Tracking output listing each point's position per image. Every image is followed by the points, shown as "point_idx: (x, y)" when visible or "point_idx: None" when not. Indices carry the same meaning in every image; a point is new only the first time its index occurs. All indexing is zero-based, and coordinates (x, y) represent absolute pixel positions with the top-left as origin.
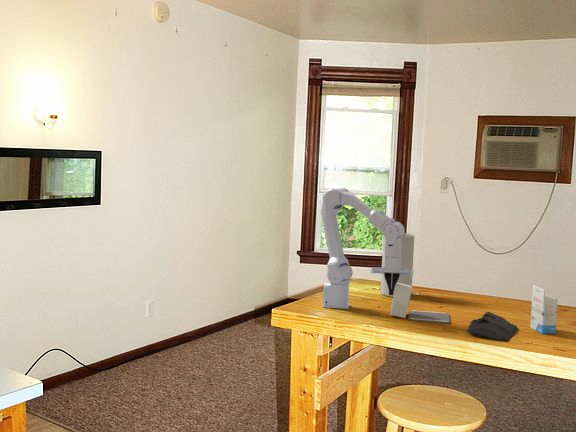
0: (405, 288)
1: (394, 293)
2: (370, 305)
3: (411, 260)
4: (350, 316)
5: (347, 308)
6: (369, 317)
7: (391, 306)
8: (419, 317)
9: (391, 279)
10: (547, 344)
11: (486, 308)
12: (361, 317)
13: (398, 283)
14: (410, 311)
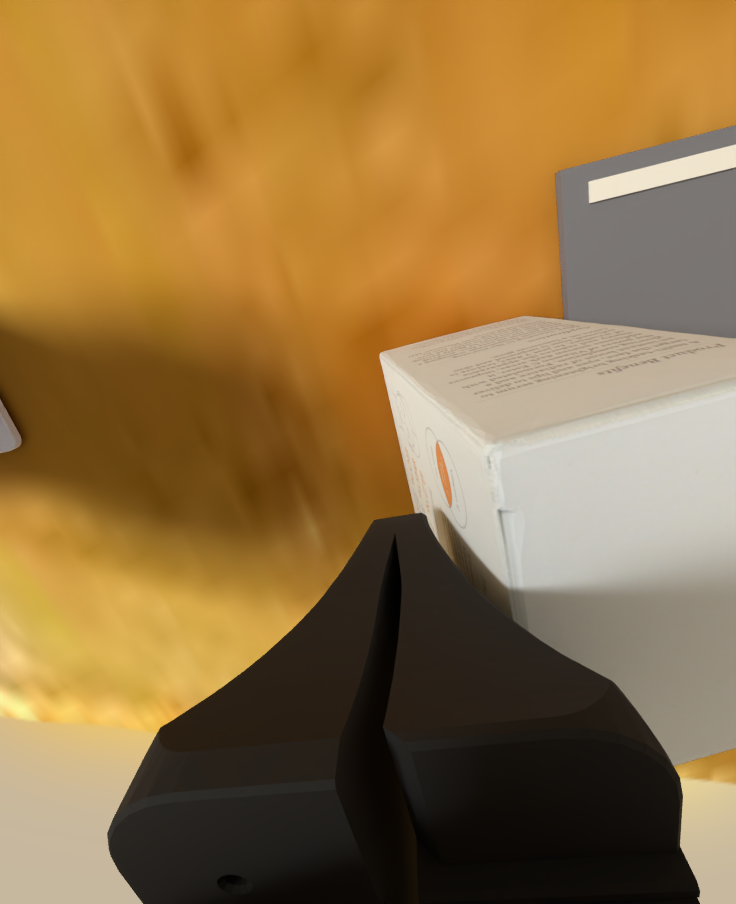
0: (690, 760)
1: (430, 451)
2: (76, 113)
3: None
4: (163, 615)
5: (17, 446)
6: (283, 584)
7: (405, 447)
8: None
9: (378, 688)
10: None
11: None
12: (236, 607)
13: (533, 535)
14: (578, 239)
